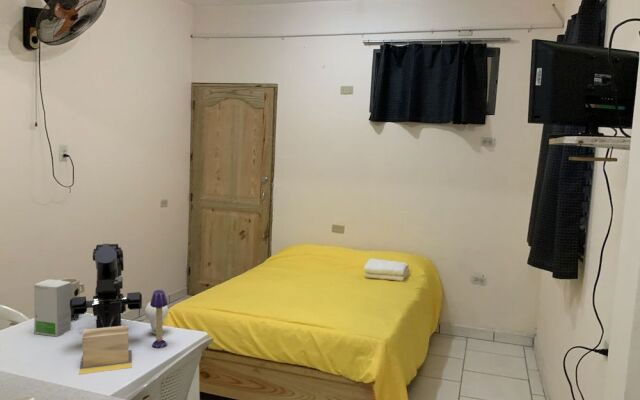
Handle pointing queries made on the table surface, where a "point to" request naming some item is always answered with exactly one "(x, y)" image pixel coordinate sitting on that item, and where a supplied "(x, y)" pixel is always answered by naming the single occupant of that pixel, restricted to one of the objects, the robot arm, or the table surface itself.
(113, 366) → the gray board
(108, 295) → the robot arm
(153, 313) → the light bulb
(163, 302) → the toy lamp
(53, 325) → the skincare box
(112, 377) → the table surface
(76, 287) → the character mug
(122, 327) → the pine block
